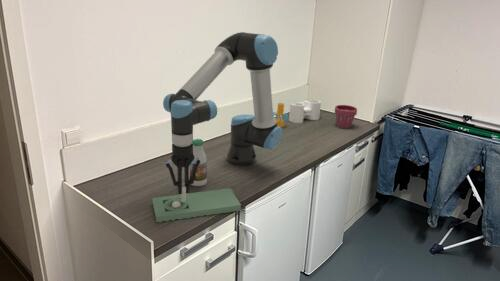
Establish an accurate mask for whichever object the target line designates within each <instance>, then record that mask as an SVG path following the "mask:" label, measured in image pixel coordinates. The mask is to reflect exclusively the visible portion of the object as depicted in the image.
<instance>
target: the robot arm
mask: <svg viewBox="0 0 500 281" xmlns="http://www.w3.org/2000/svg"><path fill="white" fill-rule="evenodd" d="M278 54H279V48H278V43H277V42H276V40H275V38H274V37H272V36H270V35H266V34H262V33H261V34H260V33H251V32H243V31H240V32H236V33H233V34H231V35H229V36H228V37H226V38H225V39H224V40H222V41H221V42H220V43H219V44H218V45H217V46H216V47H215V48H214V53H213V54H211V56H209V58H208V59H207V60H206V61H205V62H204V63H203V64H202V66H200V67H199V69H197V71H196V72H194V74H192V76H191V77H190V78H189V79H188V80H187V81H186V82H185V83H184V84H183V85H182V86H181V87H180V89H179V90H178V91H177V92H176V93H169V94H167V95H166V96H165V97H164V98H163V102H162V105H163V108H164V110H165V111H166V112H167V113H169V114H170V123H171V124H170V125H171V152H172V153H171V156H170V159H169V160H166V161H165V162H164V164H165V166H166V168H167V169H168V171H169V174H170V177H171V181H172V183H173V186H174V187H177V193H178V195H181V200H182V202H186V194H189V193H190V190H189V187H190V185H191V184H193V183H194V179H195V175H196V171H197V167H198V165H199V164H200V160H199V158H195V157H194V155H193V144H192V143H193V140H194V126H196V125H198V124H201V123H202V124H203V123H205V122H209V121H211V120H213V119H215V118H216V117H217V116H218V106H217V105H216V103H215V102H214V101H213V100H211V99H208V100H203V101H202V100H198V99H199V97H201V95H202V94H203V93H204V92H205V90H207V89H208V87H209V86H210V85H212V83H213V82H214V81H215V80H216V79H217V78H218V76H219V75H220V74H222V72H223V71H224V70H225V69H226V67H227V66H231V65H233V64H234V62H236V61H245V68H246V69H247V71H249V72H250V74H249V75H250V83H251V85H250V86H251V92H252V93H251V94H252V102H253V104H252V106H253V114H249V113H248V114H239V115H235V116H233V117H232V118H231V123H230V146H229V148H228V150H227V153H226V160H227V162H229V163H230V164H233V165H238V166H246V165H247V166H248V165H252V164H254V163H255V162H257V154H256V150H255V146H257V147H260V148H263V149H264V150H274V149H276V148H277V147H278V146H279V144H280V142H281V141H282V138H283V133H284V132H283V127H279V126H277V120H276V119H275V118H274V116H273V112H274V110H273V109H274V108H273V97H272V96H273V94H272V82H271V69H272V68H273V66H274V64H275V63H276V61H277V60H278V59H277V58H278V57H277V56H278ZM192 161H193V166H192V170H191V174H190V178H189V165H190V164H191V163H192ZM173 164H174V165H175V166H176V168H177V169H176V170H177V175H176V176H177V180H176V176H175V173H174V170H173ZM183 170H184V171H183ZM182 171H183V173H184V174H183V173H182ZM182 174H183V175H184V176H182ZM183 177H184V183H183Z"/></svg>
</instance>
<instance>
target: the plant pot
mask: <svg viewBox="0 0 500 281" xmlns="http://www.w3.org/2000/svg"><path fill="white" fill-rule="evenodd" d="M334 113H335V118H336V119H335V120H336V122H335V123H336V126H337V127H338V128H340V127H341V128H342V129H350V128H351V126H352V125H353V121H354V119H355V116H356V115H357V114H358V108H357V107H355V106H353V105H349V104H348V105H347V104H337V105H335V106H334Z"/></svg>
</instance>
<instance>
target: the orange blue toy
mask: <svg viewBox="0 0 500 281" xmlns="http://www.w3.org/2000/svg"><path fill="white" fill-rule="evenodd" d="M276 110H277V112H276V111H275V112H274V111H273V117H274V116H275V117H274V118H275V119H276V120H277V126H279V127H281V128H284V127H285V122H287V121H289V114H288V113H287V112H284V110H285V104H284V103H282V102H279V103H277V108H276Z"/></svg>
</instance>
